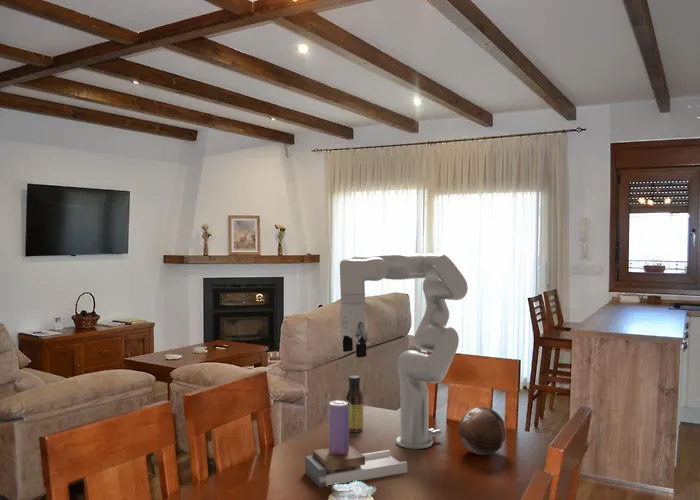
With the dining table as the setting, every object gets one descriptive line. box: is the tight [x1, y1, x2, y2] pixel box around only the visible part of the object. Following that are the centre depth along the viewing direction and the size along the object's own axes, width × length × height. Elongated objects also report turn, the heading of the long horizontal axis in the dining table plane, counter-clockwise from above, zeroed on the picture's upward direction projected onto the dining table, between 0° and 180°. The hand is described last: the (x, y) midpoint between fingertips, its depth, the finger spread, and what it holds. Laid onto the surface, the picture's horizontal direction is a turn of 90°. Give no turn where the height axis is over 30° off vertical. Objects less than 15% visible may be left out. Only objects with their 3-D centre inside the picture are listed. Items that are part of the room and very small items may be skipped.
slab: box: [312, 444, 365, 474], centre depth 185 cm, size 12×11×5 cm
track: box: [304, 449, 408, 488], centre depth 187 cm, size 28×12×5 cm, turn 114°
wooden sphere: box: [458, 406, 507, 456], centre depth 203 cm, size 15×15×15 cm
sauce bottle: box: [345, 375, 364, 433], centre depth 228 cm, size 7×6×20 cm
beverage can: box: [327, 399, 350, 456], centre depth 185 cm, size 6×6×15 cm
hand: (354, 354), depth 194 cm, fingers open, 9 cm apart
